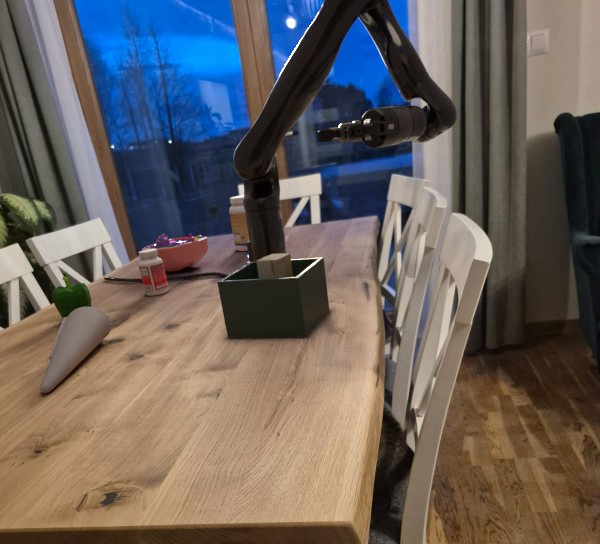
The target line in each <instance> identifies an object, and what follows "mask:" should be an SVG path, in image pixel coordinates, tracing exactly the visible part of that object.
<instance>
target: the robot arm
mask: <svg viewBox="0 0 600 544" xmlns="http://www.w3.org/2000/svg"><path fill="white" fill-rule="evenodd" d="M357 19H359V21H360V22H361V23H362V25H363V27H364V28H365V29H366V31H367V32H368V34H369V36H370V37H371V39H372V41H373V43H374V45H375V46H376V49H377V50H378V53H379V56H380V58H381V59H382V62H383V63H384V66H385V68H386V70H387V72H388V74H389V76H390V78H391V80H392V82H393V84H394V85H395V87H396V89H397V91H398V92H399V95H400V96H401V98H402V99H403V100H404V102H408V103H409V102H413V101H415V100H417V99H420V100H422V101H423V102H424V103H425V104H426V105H424V106H423V107H421V106H418V105H413V104H412V105H401V106H398V105H391V106H382V107H374V108H369V109H368V110H367V111H365V112H364V113H363V115H362V116H361V119H358V120H353V121H352V122H345V123H340V124H339V125H338V127H337V126H336V127H326V128H324V129H320V130H317V131H316V143H319V144H321V143H330V142H331V143H333V142H336V141H339V142H341V143H349V142H355V143H356V142H363V144H364V145H365V146H366V147H368V148H370V149H379V148H387V147H392V146H396V145H399V144H402V143H406V142H414V143H418V144H424V143H427V142H430V141H432V140H434V139H435V138H437V137H438V136H440V135H442V134H443V133H444V132H446V131H448V130H449V129H451V128H453V126H455V124H456V122H457V119H458V110H457V107H456V104H455V102H454V101H453V100H452V99H451V98H450V96H449V95H447V93H446V92H445V91H444V90H443V89H442V88H441V87H440V86H439V85H438V84H437V83H436V82H435V80H434V79H433V78H432V77H431V76H430V74H429V71H427V68H426V67H425V65H424V62H423V61H422V59H421V57H420V55H419V53H418V52H417V50H416V48H415V46H414V44H413V43H412V42H411V40H410V39H409V37H408V36H407V34H406V33H405V30H403V28H402V27H401V25H400V23H399V21H398V20H397V18H396V16H395V13H394V11H393V9H392V6H391V4H390V2H389V0H324V1H323V2H322V5H321V7H320V9H319V11H318V12H317V14H316V16H315V18H313V21H312V22H311V24H310V25H309V27H307V29H306V31H305V32H304V34H303V35H302V37H301V39H300V40H299V42H298V44H297V45H296V47H295V48H294V50H293V51H292V53H291V55H290V56H289V58H288V60H287V61H286V63H285V64H284V67H283V68H282V70H281V72H280V74H279V76H278V78H277V80H276V82H275V83H274V85H273V87H272V89H271V91H270V93H269V95H268V97H267V100H266V101H265V103H264V106H263V108H262V109H261V111H260V113H259V115H258V117H257V118H256V120H255V121H254V123H253V124H252V125H251V127H250V128H249V130H248V132H247V133H246V134H245V136H244V137H243V138H242V139H241V140H240V142H239V144H238V145H237V146H236V148H235V150H234V153H233V158H232V159H233V160H232V161H233V162H232V163H233V168H234V170H235V172H236V174H237V175H238V176H239V178H241V179H242V183H243V195H244V198H243V206H244V212H245V218H246V224H247V230H248V237H249V242H247V250H248V251H247V258H248V261H247V262H245V264H244V265H242V266H240V267H238V268H237V269H236V270H238V269H240V268H241V267H243V266H245V265H246V264H248V263H250V262H257V260H259V259H262V258H263V257H266V256H269V255H271V254H283V253H288V249H287V243H286V236H285V235H286V234H285V228H284V219H283V214H282V207H281V183H280V176H279V175H280V174H279V167H278V159H277V156H276V155H277V154H276V153H277V151H278V149H279V148H280V145H281V144H282V142H283V141H284V139H285V136H287V134H288V132H289V131H290V130H291V128H293V126H294V125H295V124H296V123H297V122H298V121H299V119H300V118H301V117H302V116H303V115H304V113H305V112H306V111H307V109H309V108H310V106H311V105H312V103H313V102H314V100H315V99H316V98H317V96H318V94H319V92H320V91H321V90H322V88H323V86H324V84H325V83H326V81H327V80H328V77H329V75H330V73H331V71H332V69H333V67H334V65H335V62H336V59H337V57H338V54H339V52H340V50H341V48H342V45H343V42H344V41H345V38H346V36H347V35H348V33H349V31H350V30H351V28H352V27H353V25H354V24H355V22H356V21H357ZM230 274H231V273H223V272H219V271H209V272H200V273H192V274H182V275H173V276H172V275H171V276H166V278H167V281H174V280H185V279H195V278H203V277H222V278H225V277H226V276H228V275H230ZM105 277H106V276H104V277H103V280H104V281H111V282H123V283H143V282H142V278H126V277H125V278H123V277H111V276H108V277H109V278H105ZM111 278H114V279H111Z"/></svg>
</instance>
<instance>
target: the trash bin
mask: <svg viewBox="0 0 600 544" xmlns="http://www.w3.org/2000/svg"><path fill="white" fill-rule="evenodd" d="M291 264H292V272H293V277H285V278H266V279H259V275H258V268H257V262H250V263H248V264H246V263H245V264H244V265H245V266H244V265H242V266H243V267H242V266H240V267H241V268H240V267H239V268H240V269H238V268H237V269H238V270H237V269H236V270H234V271H233V272H231V273H229V274H230V275H228V276H226V277H222V279H220V280H218V281H217V287H218V294H219V299H220V304H221V311H222V314H223V320H224V326H225V329H226V336H227V339H274V338H275V339H277V338H278V339H279V338H281V339H282V338H285V339H286V338H287V339H288V338H307V337H308V336H309V334H310V333H311V332H312V331H313V330H314V329H315V328H316V327H317V326H318V325H319V323H320V322H321V320H323V319H324V317H325V316H326V315H327V314H328V313H329V312H330V303H329V294H328V283H327V278H326V266H325V257H309V258H307V257H306V258H291Z"/></svg>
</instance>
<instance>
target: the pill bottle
mask: <svg viewBox="0 0 600 544" xmlns="http://www.w3.org/2000/svg"><path fill="white" fill-rule="evenodd" d="M157 255H158V252H157V249H147V250H140V251H138V257H139V259H140V260H139V261H138V265H137V266H138V270H139V273H140V279H142V282H141V283H142V286H143V290H144V294H145V295H146V296H148V297H154V296H160V295H163V294H166V293H168V292H169V291H170V287H169V283H168V280H167V278H166V277H167V275H166V271H165V270H164V266H163V261H162V259H161V258H159V257H157Z"/></svg>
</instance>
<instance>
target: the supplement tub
mask: <svg viewBox="0 0 600 544" xmlns="http://www.w3.org/2000/svg"><path fill="white" fill-rule="evenodd" d="M243 198H244V194H241V195H236V196H232V197H229V201H230V202H229V203H230V204H231V206H230V207H229V211H228V213H229V218H230V225H231V230H232V237H233V243H234V247H235V249H236V250H237V251H239V252H248V250H247V242H249V237H248V230H247V224H246V218H245V212H244V206H243Z"/></svg>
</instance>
